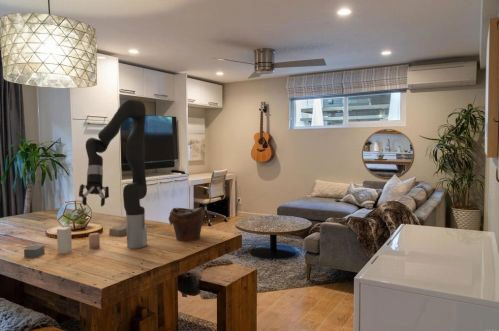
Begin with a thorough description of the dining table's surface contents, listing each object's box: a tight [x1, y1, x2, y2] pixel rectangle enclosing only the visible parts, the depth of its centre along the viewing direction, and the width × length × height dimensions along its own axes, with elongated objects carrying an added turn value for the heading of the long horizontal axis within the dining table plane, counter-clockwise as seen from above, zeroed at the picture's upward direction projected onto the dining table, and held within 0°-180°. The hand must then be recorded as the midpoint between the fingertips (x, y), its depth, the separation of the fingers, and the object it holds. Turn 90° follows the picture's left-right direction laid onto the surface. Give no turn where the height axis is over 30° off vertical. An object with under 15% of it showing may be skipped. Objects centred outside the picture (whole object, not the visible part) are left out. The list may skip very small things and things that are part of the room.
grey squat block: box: [23, 245, 46, 259], centre depth 171 cm, size 6×6×4 cm
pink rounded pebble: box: [88, 232, 101, 250], centre depth 183 cm, size 5×5×7 cm
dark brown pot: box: [168, 206, 205, 242], centre depth 198 cm, size 18×20×18 cm
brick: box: [108, 222, 127, 238], centre depth 211 cm, size 17×8×5 cm, turn 160°
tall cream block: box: [56, 226, 73, 255], centre depth 175 cm, size 4×4×12 cm
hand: (93, 205), depth 181 cm, fingers open, 8 cm apart
